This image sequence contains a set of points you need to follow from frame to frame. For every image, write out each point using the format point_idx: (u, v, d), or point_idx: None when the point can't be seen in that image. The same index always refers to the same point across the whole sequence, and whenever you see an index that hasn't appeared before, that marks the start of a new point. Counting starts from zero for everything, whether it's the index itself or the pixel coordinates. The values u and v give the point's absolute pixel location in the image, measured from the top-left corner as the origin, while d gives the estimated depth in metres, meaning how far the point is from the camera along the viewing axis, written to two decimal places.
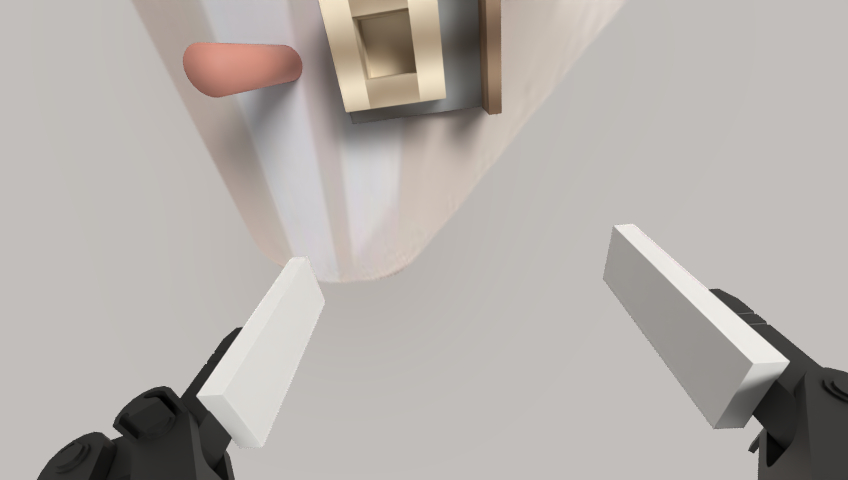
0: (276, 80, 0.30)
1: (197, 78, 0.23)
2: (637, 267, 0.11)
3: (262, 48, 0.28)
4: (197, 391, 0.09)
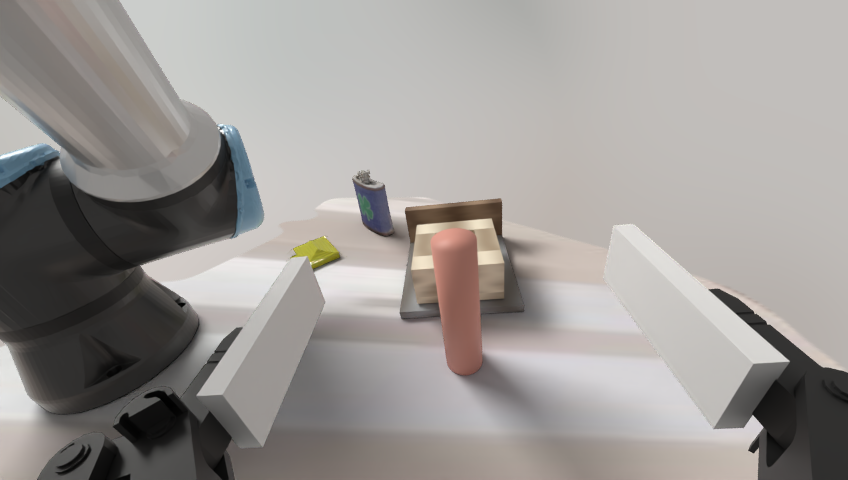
0: None
1: (458, 247, 0.23)
2: (637, 267, 0.11)
3: None
4: (197, 391, 0.09)
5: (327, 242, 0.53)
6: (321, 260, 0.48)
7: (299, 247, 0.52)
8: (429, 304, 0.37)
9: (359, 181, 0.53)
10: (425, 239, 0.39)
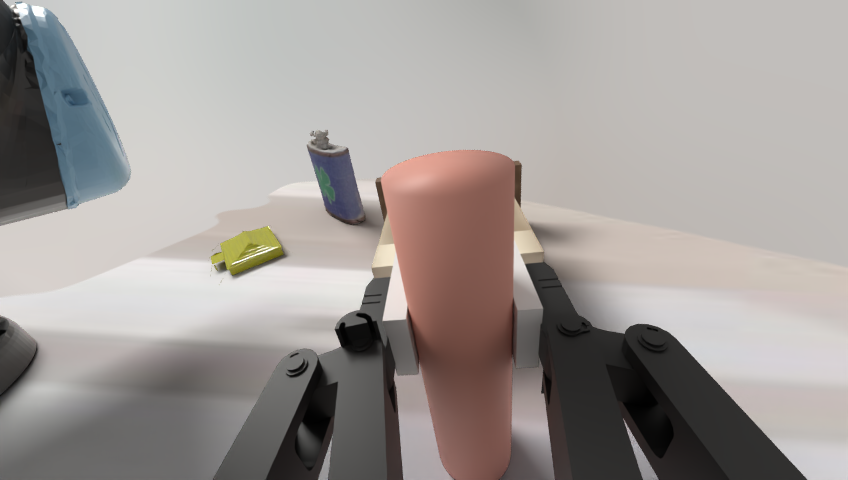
0: None
1: (461, 182, 0.07)
2: None
3: None
4: None
5: (269, 234, 0.37)
6: (253, 259, 0.33)
7: (228, 241, 0.36)
8: None
9: (314, 147, 0.37)
10: None
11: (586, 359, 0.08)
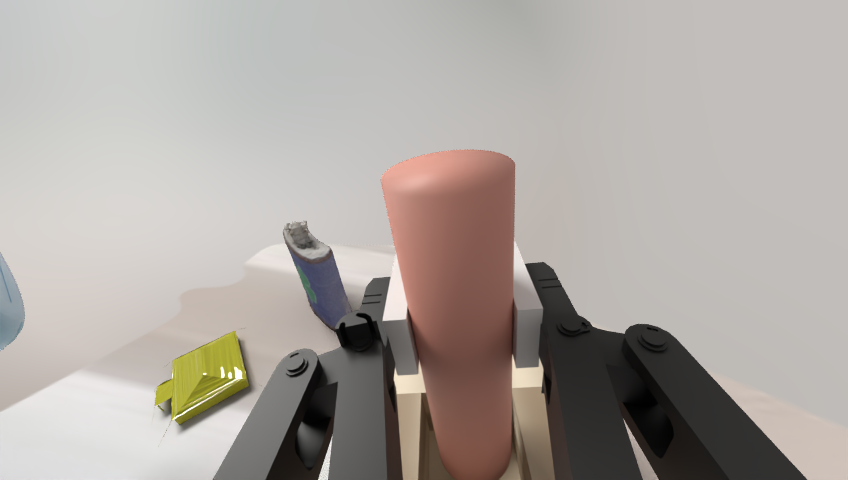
0: None
1: (461, 182, 0.07)
2: None
3: None
4: None
5: (234, 349, 0.30)
6: (207, 401, 0.25)
7: (182, 359, 0.29)
8: None
9: (291, 239, 0.30)
10: (399, 419, 0.17)
11: (586, 359, 0.08)
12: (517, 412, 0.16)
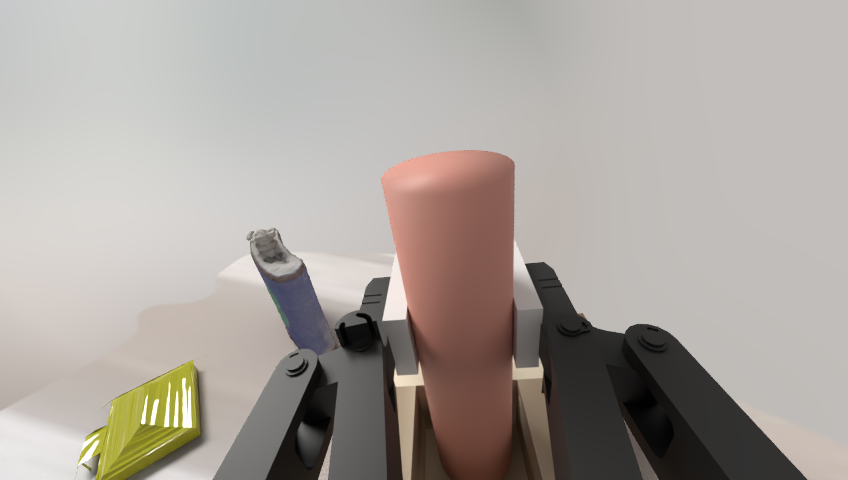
0: None
1: (461, 181, 0.07)
2: None
3: None
4: None
5: (187, 386, 0.24)
6: (143, 459, 0.20)
7: (122, 399, 0.24)
8: None
9: (257, 251, 0.25)
10: None
11: (586, 359, 0.08)
12: (524, 406, 0.14)
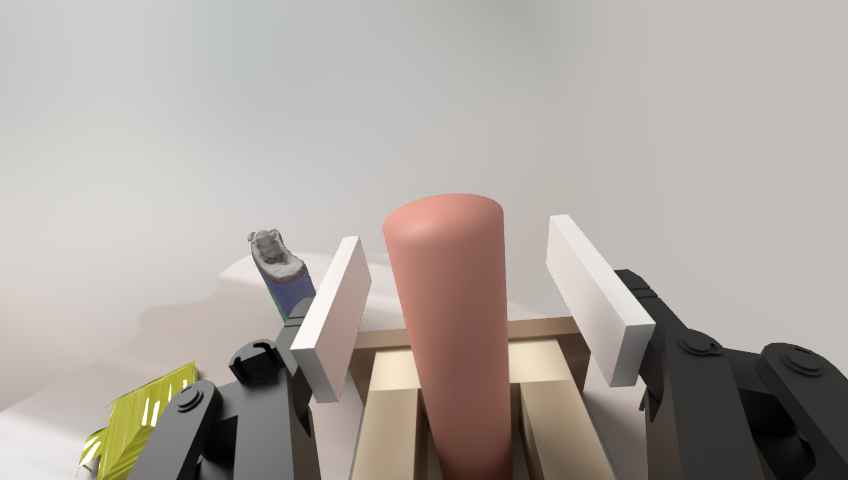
0: None
1: (454, 231, 0.08)
2: (564, 252, 0.13)
3: None
4: (282, 349, 0.10)
5: None
6: None
7: (124, 400, 0.24)
8: None
9: (258, 252, 0.25)
10: (392, 418, 0.15)
11: (713, 384, 0.07)
12: (527, 409, 0.14)
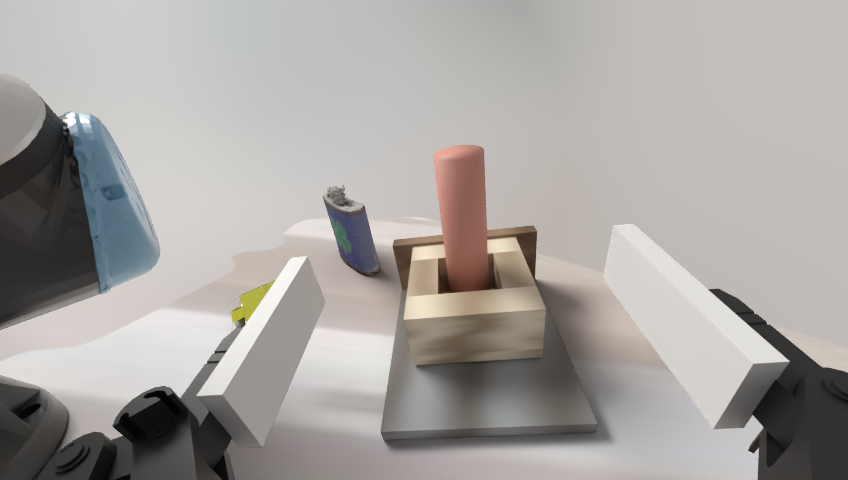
0: None
1: (463, 156, 0.21)
2: (637, 267, 0.11)
3: None
4: (197, 391, 0.09)
5: None
6: None
7: (247, 294, 0.37)
8: (431, 415, 0.22)
9: (331, 201, 0.38)
10: (425, 268, 0.28)
11: None
12: (495, 261, 0.27)
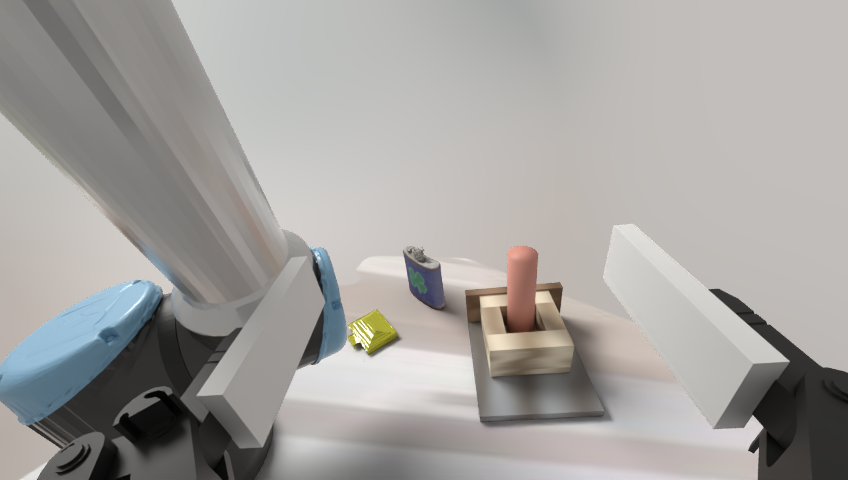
0: None
1: (527, 258, 0.37)
2: (637, 267, 0.11)
3: None
4: (197, 391, 0.09)
5: (382, 319, 0.53)
6: (380, 343, 0.49)
7: (354, 324, 0.53)
8: (507, 407, 0.37)
9: (412, 257, 0.54)
10: (493, 314, 0.43)
11: None
12: (538, 310, 0.43)
